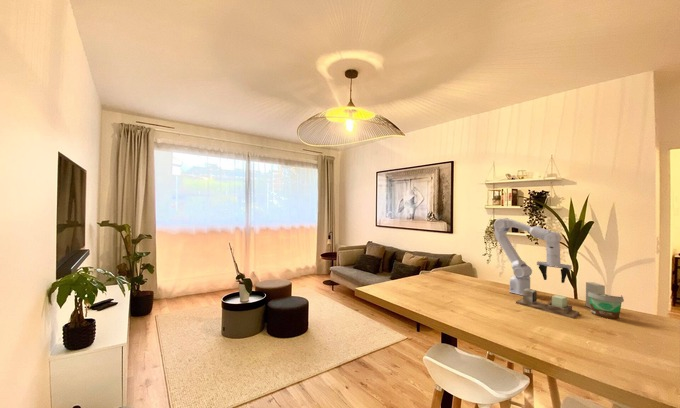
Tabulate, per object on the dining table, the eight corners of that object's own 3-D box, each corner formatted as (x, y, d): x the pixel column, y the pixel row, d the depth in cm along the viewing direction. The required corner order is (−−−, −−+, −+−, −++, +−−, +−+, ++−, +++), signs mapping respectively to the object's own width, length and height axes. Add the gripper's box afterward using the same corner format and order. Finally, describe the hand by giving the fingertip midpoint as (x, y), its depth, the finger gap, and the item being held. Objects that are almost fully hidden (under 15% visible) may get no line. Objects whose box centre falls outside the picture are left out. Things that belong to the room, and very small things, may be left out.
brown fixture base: (515, 303, 141) (515, 289, 141) (523, 299, 146) (523, 286, 146) (573, 318, 122) (573, 302, 122) (579, 313, 128) (579, 298, 128)
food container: (591, 316, 124) (591, 294, 124) (587, 312, 130) (587, 291, 130) (629, 322, 118) (629, 299, 119) (622, 317, 124) (623, 295, 124)
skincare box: (605, 310, 132) (605, 285, 132) (596, 310, 132) (596, 285, 132) (593, 306, 138) (594, 282, 138) (585, 306, 138) (585, 282, 138)
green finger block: (550, 308, 131) (550, 296, 131) (555, 306, 133) (556, 294, 133) (561, 311, 127) (561, 298, 127) (566, 310, 130) (567, 297, 130)
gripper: (573, 256, 142) (573, 282, 141) (539, 252, 154) (540, 277, 153) (568, 257, 138) (569, 284, 137) (535, 253, 149) (535, 279, 149)
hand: (553, 281), depth 145 cm, fingers open, 7 cm apart
